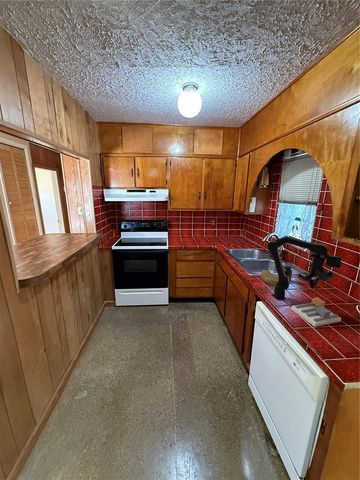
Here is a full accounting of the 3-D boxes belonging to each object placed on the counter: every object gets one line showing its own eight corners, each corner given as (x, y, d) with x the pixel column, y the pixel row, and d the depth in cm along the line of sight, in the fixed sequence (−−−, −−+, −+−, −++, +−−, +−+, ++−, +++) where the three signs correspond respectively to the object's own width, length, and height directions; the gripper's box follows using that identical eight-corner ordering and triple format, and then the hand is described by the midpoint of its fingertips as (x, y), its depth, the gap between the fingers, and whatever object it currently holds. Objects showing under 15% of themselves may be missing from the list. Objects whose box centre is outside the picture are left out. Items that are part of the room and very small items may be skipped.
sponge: (258, 277, 164) (261, 283, 145) (261, 268, 163) (264, 273, 144) (275, 282, 160) (280, 289, 141) (278, 273, 159) (283, 278, 140)
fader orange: (311, 304, 120) (312, 298, 119) (316, 303, 121) (317, 297, 120) (318, 309, 115) (320, 302, 114) (324, 308, 116) (325, 302, 115)
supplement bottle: (287, 278, 159) (290, 264, 156) (292, 282, 152) (295, 268, 149) (279, 278, 159) (281, 264, 156) (284, 282, 152) (286, 268, 149)
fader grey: (315, 313, 111) (316, 307, 110) (320, 312, 112) (322, 306, 111) (323, 319, 106) (324, 312, 105) (329, 318, 107) (330, 311, 106)
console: (291, 308, 119) (291, 304, 118) (314, 305, 123) (315, 300, 122) (314, 326, 104) (315, 321, 103) (340, 321, 108) (342, 316, 107)
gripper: (316, 271, 106) (310, 297, 110) (343, 268, 110) (337, 293, 114) (299, 263, 116) (295, 287, 120) (325, 261, 120) (320, 284, 124)
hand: (312, 288), depth 119 cm, fingers closed
